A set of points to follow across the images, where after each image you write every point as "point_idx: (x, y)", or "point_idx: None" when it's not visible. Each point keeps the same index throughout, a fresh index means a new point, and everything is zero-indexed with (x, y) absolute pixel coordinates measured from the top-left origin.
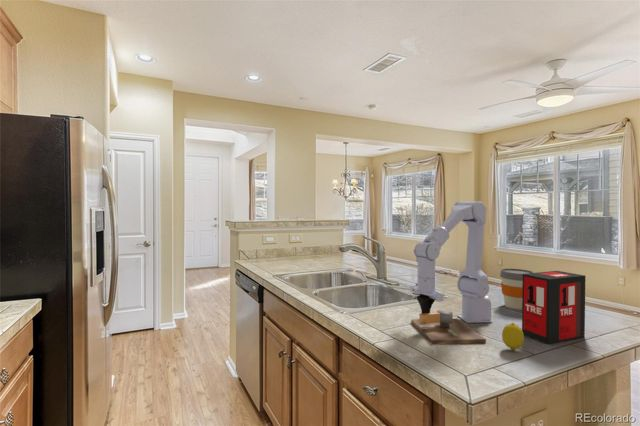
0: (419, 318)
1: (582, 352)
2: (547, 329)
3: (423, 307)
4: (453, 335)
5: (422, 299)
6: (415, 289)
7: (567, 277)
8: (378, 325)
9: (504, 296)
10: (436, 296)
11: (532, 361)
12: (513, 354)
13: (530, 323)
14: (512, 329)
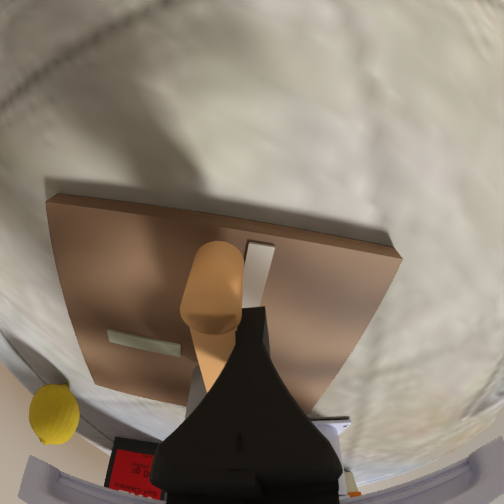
0: (223, 265)
1: (91, 438)
2: (111, 463)
3: (217, 379)
4: (112, 328)
5: (162, 463)
6: None
7: None
8: (422, 20)
9: (347, 489)
10: (32, 495)
11: (22, 369)
12: (43, 369)
13: (146, 470)
14: (30, 423)
